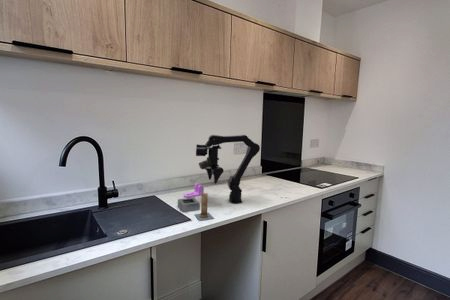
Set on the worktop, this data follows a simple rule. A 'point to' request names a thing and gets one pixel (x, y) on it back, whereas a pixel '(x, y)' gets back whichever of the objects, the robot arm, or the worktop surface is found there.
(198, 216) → the rubber mat
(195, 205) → the grey socket block
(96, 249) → the worktop surface
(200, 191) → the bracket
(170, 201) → the worktop surface
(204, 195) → the walnut peg
